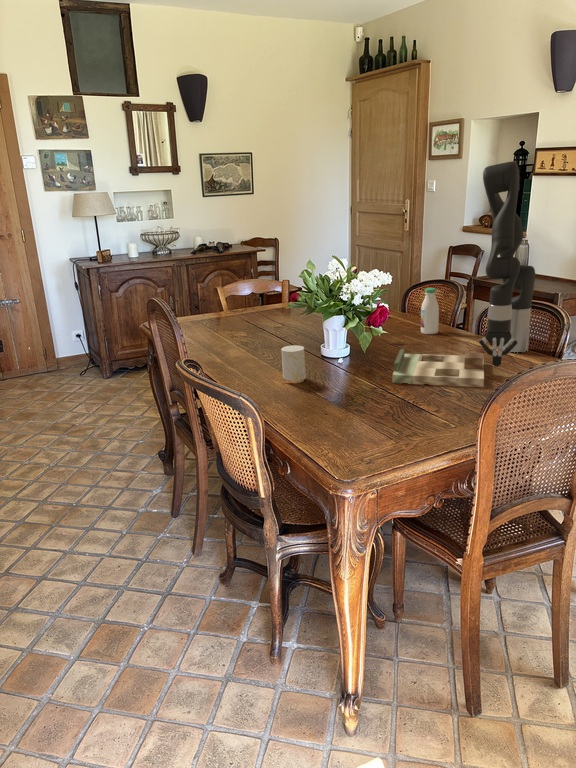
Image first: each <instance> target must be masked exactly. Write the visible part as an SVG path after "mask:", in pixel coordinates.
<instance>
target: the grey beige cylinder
mask: <svg viewBox="0 0 576 768" xmlns="http://www.w3.org/2000/svg"><path fill="white" fill-rule="evenodd" d="M280 352H281V365H282V379H283V378H284V379H286V380H291V381H299V380H303V379H305V378H307V377H306V362H305V361H306V358H305V357H306V356H305V346H303V345H296V344H295V345H286V346H283V347H282V348H281V351H280Z"/></svg>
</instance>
